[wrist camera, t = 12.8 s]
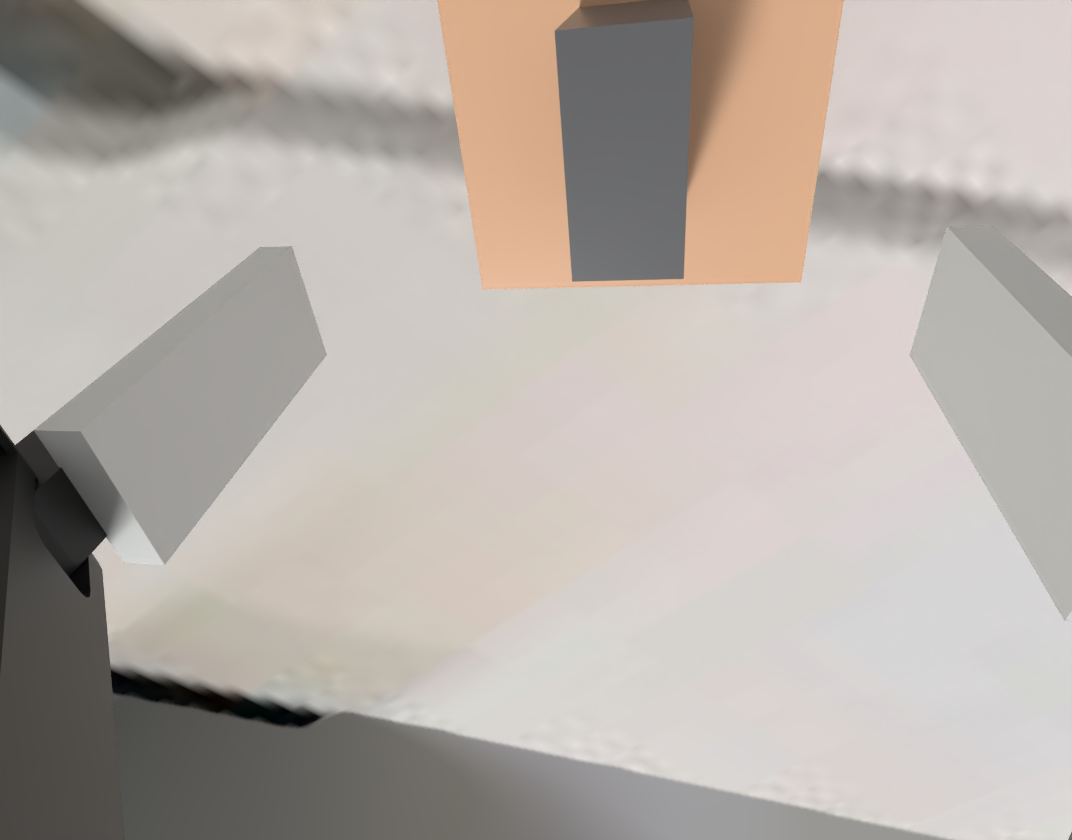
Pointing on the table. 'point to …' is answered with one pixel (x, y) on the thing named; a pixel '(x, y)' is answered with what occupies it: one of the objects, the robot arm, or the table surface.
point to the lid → (640, 137)
